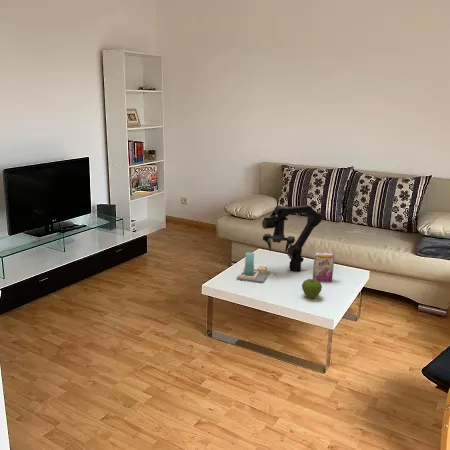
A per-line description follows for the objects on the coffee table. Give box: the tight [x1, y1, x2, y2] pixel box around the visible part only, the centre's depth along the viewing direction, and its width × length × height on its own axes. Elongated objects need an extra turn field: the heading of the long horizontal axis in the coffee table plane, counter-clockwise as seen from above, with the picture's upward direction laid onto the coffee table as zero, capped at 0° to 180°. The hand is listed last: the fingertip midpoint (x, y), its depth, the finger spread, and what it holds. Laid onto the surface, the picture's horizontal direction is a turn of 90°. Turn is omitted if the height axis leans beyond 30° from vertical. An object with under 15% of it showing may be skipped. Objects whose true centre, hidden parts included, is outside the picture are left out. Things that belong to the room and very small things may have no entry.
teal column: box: [244, 251, 255, 276], centre depth 286 cm, size 5×5×14 cm
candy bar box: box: [312, 252, 335, 283], centre depth 284 cm, size 11×5×16 cm, turn 84°
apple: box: [301, 278, 323, 299], centre depth 262 cm, size 11×10×10 cm
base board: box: [236, 265, 271, 284], centre depth 290 cm, size 16×17×4 cm
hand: (278, 252), depth 294 cm, fingers open, 9 cm apart
